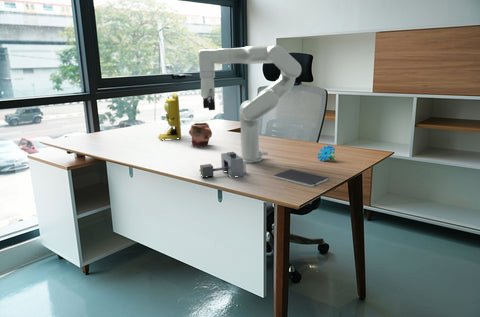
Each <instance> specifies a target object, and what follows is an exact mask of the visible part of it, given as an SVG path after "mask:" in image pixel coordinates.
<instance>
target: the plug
mask: <svg viewBox="0 0 480 317" xmlns="http://www.w3.org/2000/svg"><path fill="white" fill-rule="evenodd" d="M227 169H228V167H222V166H221V167H216V168H214V166H213V165H212V163H206V164H200V165H199V169H198V170H199V172H200V176H201V175H202V176H203V177H206V176H214V177H215V175H214V173H215V172H217V171H222V170H227ZM245 173H247V163H246V161H245V160H244V159H243V174H245ZM202 176H201V177H202ZM203 177H202V178H203Z"/></svg>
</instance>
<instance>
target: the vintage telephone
mask: <svg viewBox="0 0 480 317" xmlns="http://www.w3.org/2000/svg"><path fill="white" fill-rule="evenodd" d="M171 96H172V97H171V98H170V97H169V96H168V97H167V98H166V99H165V103H164V106H163V107H164V111H165V113H166V114H165V120H166V121H167V124H168V125H169V126H168V127H170V128H169V129H167V130H166V132H165V133H160V134H159V135H158V136H159V137H160V138H159V137H158V138H159V140H160V139H175V140H180V139H181V140H182V132H181V131H182V130H181V127H182V126H181V117H180V116H181V115H180V102H179V101H180V100H179V95H178V94H176V93H172V95H171ZM177 138H179V139H177Z"/></svg>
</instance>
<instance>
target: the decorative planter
mask: <svg viewBox="0 0 480 317" xmlns="http://www.w3.org/2000/svg"><path fill="white" fill-rule="evenodd" d="M188 134H189V135H190V136H191V145H192V146H193V145H194V146H193V147H195V146H202V147H205V145H206V146H208V145H209V142H210V138H211V137H212V136H213V132H212V129H211V128H210V125H209V123H207V122H196V123H192V124H191V126H190V129H189V130H188Z"/></svg>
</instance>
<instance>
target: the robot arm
mask: <svg viewBox="0 0 480 317" xmlns="http://www.w3.org/2000/svg"><path fill="white" fill-rule="evenodd" d="M198 64H199V65H198V68H199V79H200V96H201V97H202V104H203V109H208V111H215V110H216V99H215V96H216V95H215V94H216V91H215V90H216V89H215V81H214V80H215V79H214V78H216V70H215V69H216V67H215V64H217V65H218V64H219V65H224V64H226V65H227V64H243V65H254V64H255V65H257V64H274V65H275V67H277V68H278V70H280V75H279V78H277V79H276V80H275V81H274V82H273V83H271V84H269V85H268V86H267V87H266V88H263V89H262V90H260V91H259V93H258V94H257V96H256V97H255V98H254V99H253V100H251V99H249V100H245V101H242V103H241V104H240V106H239V112H238V113H239V121H240V123H239V124H240V148H241V152H240V153H241V156H240V157H241V158H243V159H244V160H245V161H246V164H247V163H248V164H249V163H259V162H261V161H263V156H269V153H268V151H261V150H260V132H259V131H260V126H259V119H261V118H262V117H264V116H266V115H267V114H268V113H270V112H271V111H272V110H275V108H276V107H277V106H278V104H279V101H280V99H281V98H284V96H285V95H286V94H288V93H289V92H290V91H291V90H292V89H293V87H294V86H295V85H294V84H295V82H296V78H298V77H300V76H301V73H302V66H301V64H300V63H299V61H297V59H295V58H294V57H293V56H292V55H291V54H290V53H289V52H287V50H286V49H284V48H283V46H280V45H278V44H274V45H256V46H255V45H254V46H253V45H252V46H249V45H248V46H244V47H234V48H232V47H231V48H222V47H221V48H216V49H211V48H208V49H207V48H206V49H205V48H204V49H200V50H198Z"/></svg>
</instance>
